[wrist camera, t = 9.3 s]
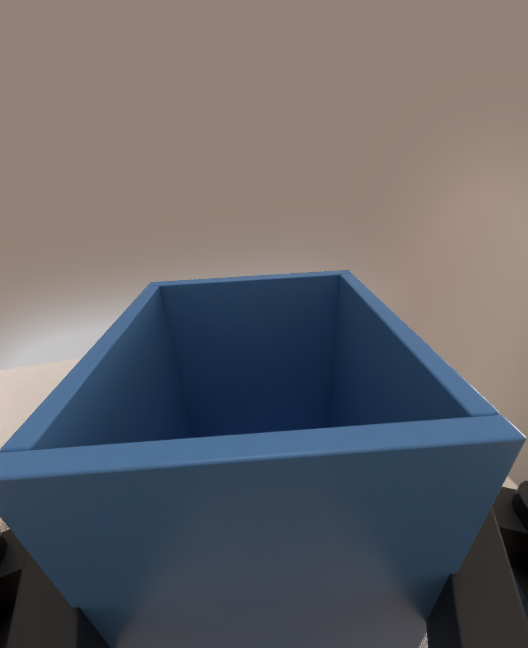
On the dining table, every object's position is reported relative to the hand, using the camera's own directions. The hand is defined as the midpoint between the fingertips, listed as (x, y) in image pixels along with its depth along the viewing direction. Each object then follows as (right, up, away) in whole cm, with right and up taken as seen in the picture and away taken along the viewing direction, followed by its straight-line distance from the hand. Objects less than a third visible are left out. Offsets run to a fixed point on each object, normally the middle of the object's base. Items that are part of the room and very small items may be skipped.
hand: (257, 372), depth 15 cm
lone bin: (+1, -9, -1) cm, 9 cm away
